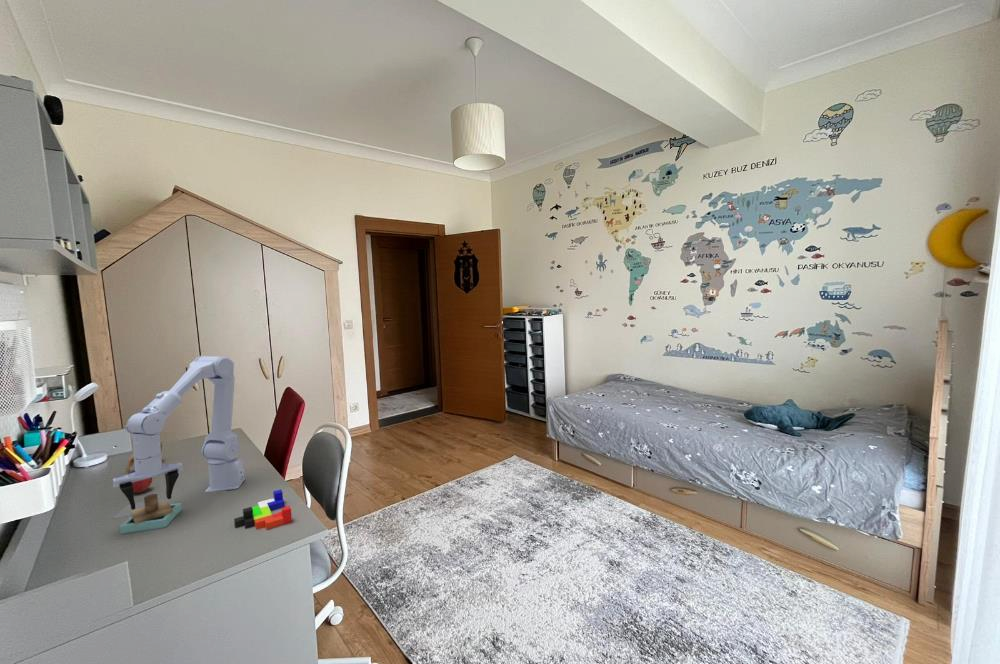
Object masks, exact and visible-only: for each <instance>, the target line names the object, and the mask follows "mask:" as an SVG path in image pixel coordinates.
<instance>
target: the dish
mask: <svg viewBox="0 0 1000 664" xmlns="http://www.w3.org/2000/svg"><path fill="white" fill-rule="evenodd" d="M169 504H170V506H171V507H172V509H173V513H171V514H167V515H164V516H161V517H158V518H154V519H151V520H148V521H145V522H141V523H138V524H135V523H134V520H133V518H132V516H129V517H128V518H127V519H126V520H125V521H124V522H123V523H122V524H121V525H119V533H120V535H124V534H125V535H126V534H130V533H138V532H139V533H140V532H146V531H151V530H152V531H153V530H159V529H164V528H165V529H166V528H167V527H168V526H169V525H170V523H171V522H172V521H173V520H174V519H175V518H176V517H177V516H178V515H179V514H180V513H181V512H182V510H183V509H182V508H183V506H182V504H183V503H182V502H177V503H172V504H171V503H169Z"/></svg>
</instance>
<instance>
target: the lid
mask: <svg viewBox="0 0 1000 664" xmlns="http://www.w3.org/2000/svg"><path fill="white" fill-rule="evenodd" d="M143 500H144V501H143V502H144V503H145V507H142V508H139V509H135V510H132V511H131V515H132V518H133V520H134V523H135V524H138V523H141V522H145V521H148V520H151V519H154V518H158V517H161V516H164V515H167V514H171V513H173V509H172V507H171V506H170V504H171V503H170V502H169V500H166V501H163V502H159V503H158V500H159V499H158V494H157V493H152V494H148V495H146V496H144V497H143Z"/></svg>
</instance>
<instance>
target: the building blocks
mask: <svg viewBox="0 0 1000 664" xmlns="http://www.w3.org/2000/svg"><path fill="white" fill-rule="evenodd" d="M272 492H273V493H272V494H273V498H269V499H265V500H262V501H258V502H257V505H255V506H250V507H247V508H246V507H245V508H243V509H242V516H240V517H239V516H238V517H235V518H234V519H233V520H234V522H233V523H234V528H235V529H236V528H240V527H243V526H244V528H245V529H249V528H253V527H255V529H256V530H258V529H263V528H265V530H266V531H267V530H270V529H273V528H277V527H281V526H284V525H287V524H290V523H292V522H293V520H292V519H293V518H292V507H291V506H290V505H288V506H287V505H285V500H284V497H283V496H284V495H283V490H282V489H278V490H274V491H272ZM279 509H280V511H281V512H277V513H274V514H272V512H273V511H276V510H279Z"/></svg>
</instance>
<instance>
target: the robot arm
mask: <svg viewBox="0 0 1000 664" xmlns="http://www.w3.org/2000/svg"><path fill="white" fill-rule="evenodd" d="M234 368H235V362H234V361H233V360H232V359H230V357H228V356H225V355H223V356H215V355H214V356H207V355H198V357H196V358H194V360H193V361H192V362H190V363H189V367H188V369H187V371H186V372H185V373H184V374H183V375H182V376H181V377H180V378H179V379H178V381H177V382H176V383H175V384H174V385H173V386H172V387H171V388H170V389H169V390H163V391H161V392H158V393H157V394H156V395H155V398H154V399H153V400H152V401H151V402H150V403H149V404H147V406H144V407H143V408H142V409H141V411H140V412H137V413H134V414H132V415H131V416H130V418H128V419H127V422H126V425H124V429H125V432H127V433H129V435H130V440H131V441H132V452H133V453H132V454H134V464H133V465H134V471H133V472H131V473H130V474H128V475H127V474H125V475H122V476H118V477H114V478H112V485H113V488H120V491H121V492H122V493H123V494H124V496H125V497H126V499H127V500H128V502H129V504H130V505H131V509H132V510H134V509H135V503H136V502H135V496H134V493H135V492H134V490H133V486H132V482H136V481H140V480H144V479H148V478H152V479H153V478H155V477H160V476H163V475H164V479H165V486H166V487H165V489H166V490H165V492H166V493H165V494H166V495H165V496H166V499H168V500H171V499H172V493H173V490H174V488H175V484H176V482H177V480H178V478H179V476H180V475H179V474H180V473H179V472H182V471H183V469H184V468H183V463H182V462H177V463H172V464H171V463H170V464H164V465H163V462H162V452H161V446H160V441H161V437H160V435H161V434H160V432H161V431H162V430H163V429H164V428H165V423H166V420H167V418H168V417H169V416H170V415H171V414H172V413H173V412H174V411H175V410H176V409H177V408H178V407H179V406H180V405H181V404H182V399H181V398H182V397H183V396H184V395H185V394H186V393H187V392H188V391H189V390H191V389H192V388H193V387H194V386H195V385H197V384H198V382H200V381H201V380H204V379H205V380H206V379H208V380H209V381H210V382H212V384H214V390H213V391H214V392H213V402H212V403H213V404H212V420H211V431H210V433H208V434H207V435H206V436H205V437H204V442H203V445H202V448H201V449H200V450H201V452H200V453H201V456H202V458H204V459H205V461H206V463H207V465H208V477H209V481H208V482H209V486H208V487H207V488H206V489H205V490H204V492H205V493H209V492H217V491H225V490H226V491H228V490H236V489H239V488H240V486H241V485H242V484H243V482H245V480H246V477H245V469H244V468H245V467H244V465H245V464H244V460H243V458H241V457H239V458H237V457H238V455H239V453H240V443H239V436H238V435H237V434H235V432H233V431H232V422H233V410H234V409H233V408H234V397H235V395H234V393H235V380H236V379H235V374H234V370H235V369H234Z"/></svg>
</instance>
